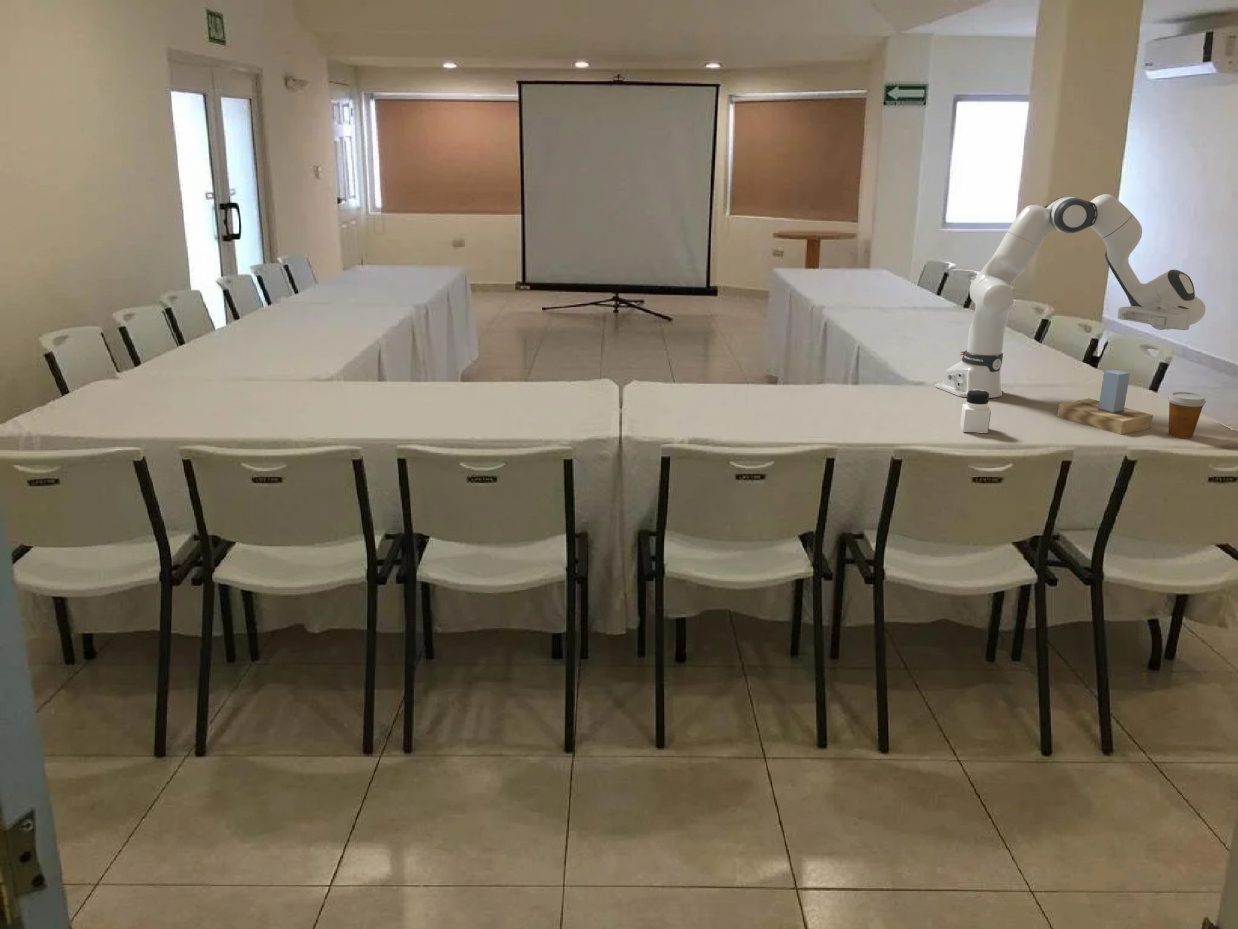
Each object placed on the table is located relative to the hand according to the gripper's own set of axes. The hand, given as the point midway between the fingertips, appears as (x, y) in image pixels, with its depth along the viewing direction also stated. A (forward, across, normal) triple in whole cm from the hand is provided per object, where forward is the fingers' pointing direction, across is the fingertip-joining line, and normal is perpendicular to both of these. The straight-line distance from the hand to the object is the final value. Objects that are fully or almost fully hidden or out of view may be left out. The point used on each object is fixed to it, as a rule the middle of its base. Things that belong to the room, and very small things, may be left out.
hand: (1135, 319), depth 307 cm
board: (+12, +3, +30) cm, 32 cm away
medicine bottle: (+53, -10, +30) cm, 62 cm away
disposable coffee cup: (+5, +23, +30) cm, 38 cm away
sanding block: (+12, +5, +26) cm, 29 cm away
